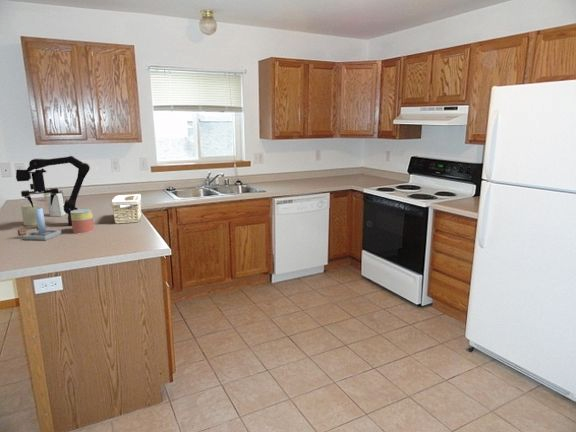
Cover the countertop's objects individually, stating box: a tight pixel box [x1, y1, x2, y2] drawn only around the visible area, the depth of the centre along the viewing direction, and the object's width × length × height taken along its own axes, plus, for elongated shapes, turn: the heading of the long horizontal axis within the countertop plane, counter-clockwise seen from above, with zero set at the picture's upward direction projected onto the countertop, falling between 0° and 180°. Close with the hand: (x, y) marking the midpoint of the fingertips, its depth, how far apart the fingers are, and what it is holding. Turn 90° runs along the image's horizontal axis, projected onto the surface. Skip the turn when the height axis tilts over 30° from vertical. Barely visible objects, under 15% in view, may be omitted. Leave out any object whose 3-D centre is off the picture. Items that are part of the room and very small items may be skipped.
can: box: [20, 203, 39, 226], centre depth 248 cm, size 9×9×12 cm
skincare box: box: [45, 192, 67, 217], centre depth 269 cm, size 8×6×15 cm
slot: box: [18, 225, 38, 237], centre depth 232 cm, size 14×12×1 cm
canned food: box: [70, 208, 95, 234], centre depth 231 cm, size 11×11×12 cm
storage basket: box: [111, 193, 142, 224], centre depth 257 cm, size 24×16×15 cm
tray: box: [22, 229, 63, 242], centre depth 220 cm, size 13×13×2 cm
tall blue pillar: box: [34, 207, 52, 236], centre depth 219 cm, size 7×5×15 cm
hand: (42, 206), depth 237 cm, fingers open, 9 cm apart
